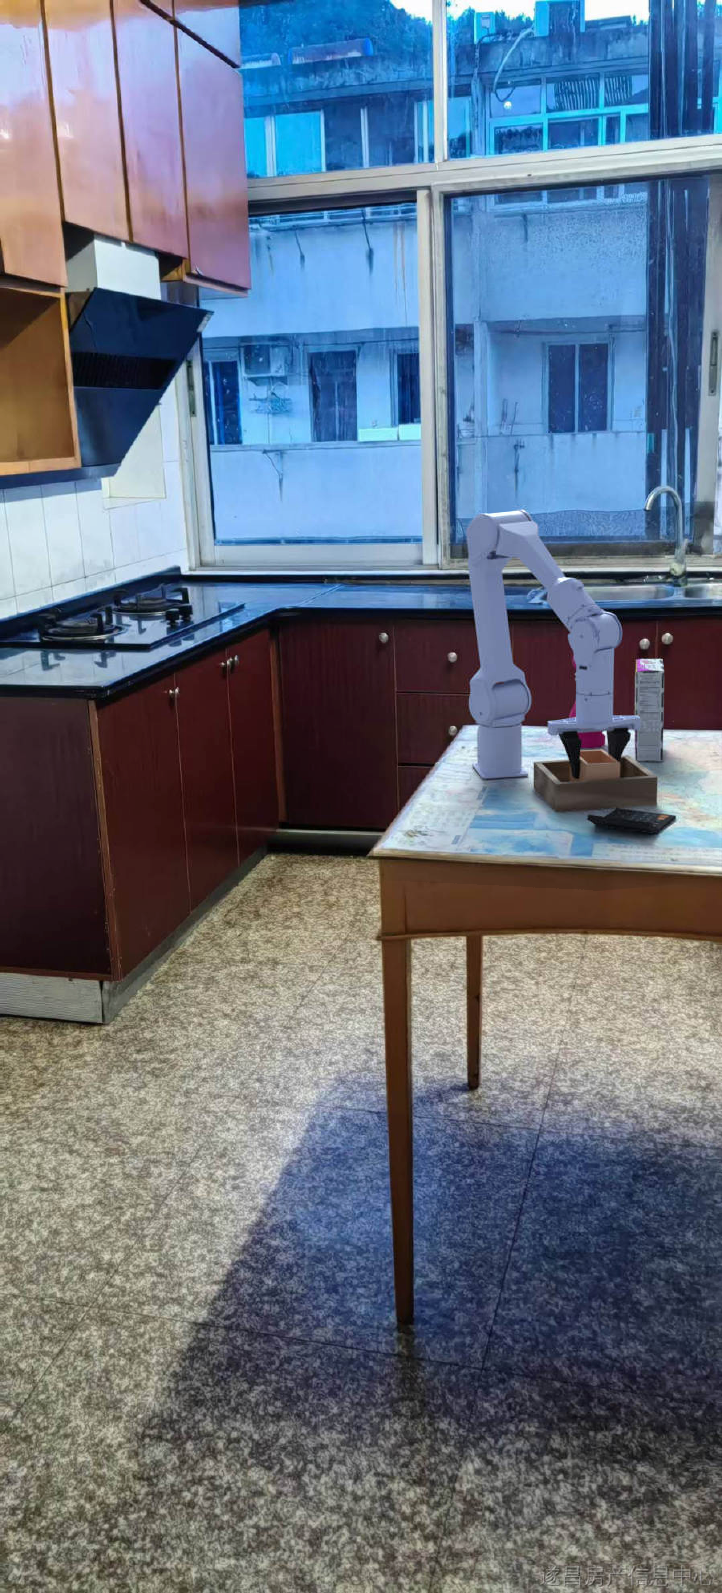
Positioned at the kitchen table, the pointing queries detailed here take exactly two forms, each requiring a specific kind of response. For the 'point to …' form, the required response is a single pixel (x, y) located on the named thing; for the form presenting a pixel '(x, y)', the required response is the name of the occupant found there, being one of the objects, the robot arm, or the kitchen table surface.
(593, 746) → the pepper mill
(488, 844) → the kitchen table surface
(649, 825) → the calculator
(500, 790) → the kitchen table surface
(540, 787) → the walnut crate
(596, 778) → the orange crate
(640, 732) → the candy bar box
